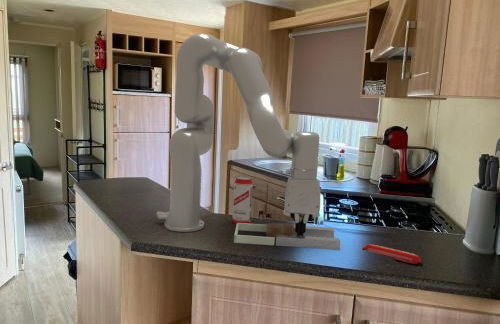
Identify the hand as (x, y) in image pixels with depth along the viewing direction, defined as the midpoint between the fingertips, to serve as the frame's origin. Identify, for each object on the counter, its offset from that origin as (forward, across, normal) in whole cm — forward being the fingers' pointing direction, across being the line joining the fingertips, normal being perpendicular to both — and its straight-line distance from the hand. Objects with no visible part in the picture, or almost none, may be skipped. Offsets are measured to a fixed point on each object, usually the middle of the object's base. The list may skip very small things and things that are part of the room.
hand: (299, 234), depth 117 cm
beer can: (+3, -18, +15) cm, 24 cm away
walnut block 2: (+2, -4, 0) cm, 4 cm away
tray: (+2, -14, 0) cm, 14 cm away
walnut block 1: (+2, -8, 0) cm, 8 cm away
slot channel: (+3, +2, 0) cm, 3 cm away
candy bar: (+4, +25, -7) cm, 26 cm away
